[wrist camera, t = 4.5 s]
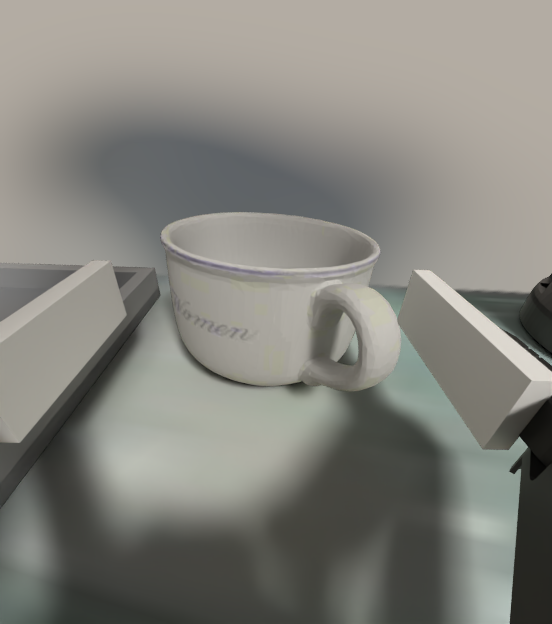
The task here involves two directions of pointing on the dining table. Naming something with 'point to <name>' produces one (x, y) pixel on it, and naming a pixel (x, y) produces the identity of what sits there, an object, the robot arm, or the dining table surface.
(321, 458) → the dining table surface
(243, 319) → the teacup
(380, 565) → the dining table surface
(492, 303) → the dining table surface
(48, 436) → the tray
